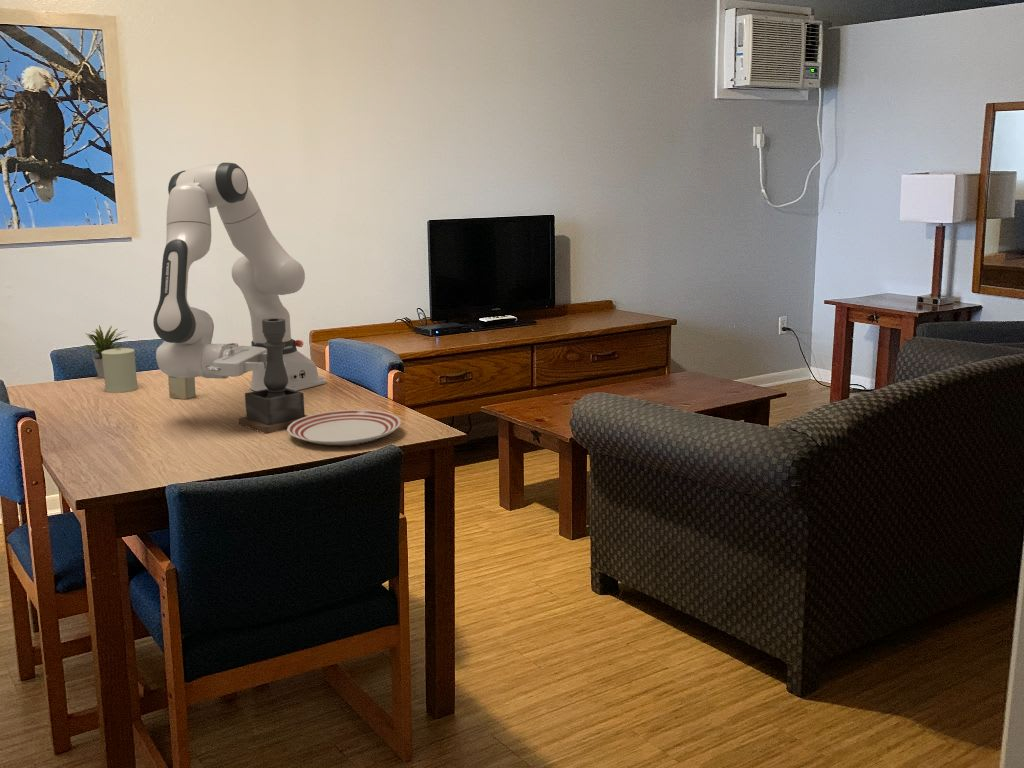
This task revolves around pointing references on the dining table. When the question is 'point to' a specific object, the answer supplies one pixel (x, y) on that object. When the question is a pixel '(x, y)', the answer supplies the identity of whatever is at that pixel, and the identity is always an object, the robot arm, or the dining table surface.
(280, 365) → the candle holder
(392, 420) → the dinner plate
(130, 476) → the dining table surface
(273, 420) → the dark square box
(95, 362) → the house plant
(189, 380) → the skincare box
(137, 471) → the dining table surface
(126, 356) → the can
